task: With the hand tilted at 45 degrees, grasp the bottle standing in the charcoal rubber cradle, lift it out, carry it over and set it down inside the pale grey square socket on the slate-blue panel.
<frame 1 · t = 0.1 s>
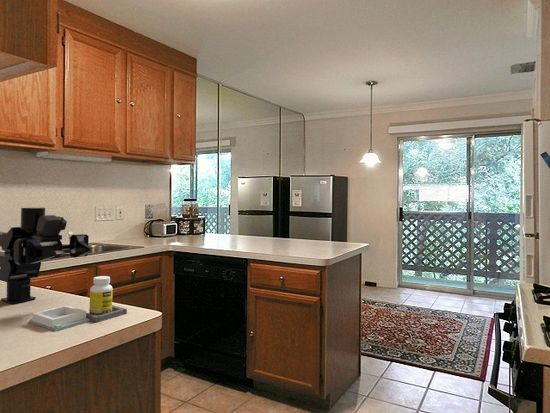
hand: (73, 251, 100), 17 cm above the counter, tool horizontal, fingers open, 9 cm apart
supplement bottle: (100, 315, 102), resting in holster cradle
holster cradle: (100, 314, 102), on the counter
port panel: (59, 321, 96), on the counter
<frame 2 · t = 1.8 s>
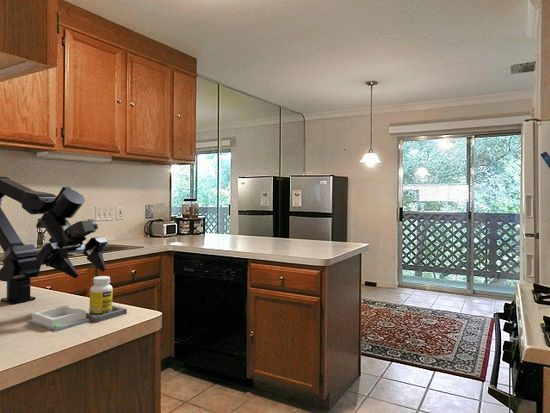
hand: (91, 273, 103), 10 cm above the counter, tool tilted 45°, fingers open, 9 cm apart
nothing on the counter moved.
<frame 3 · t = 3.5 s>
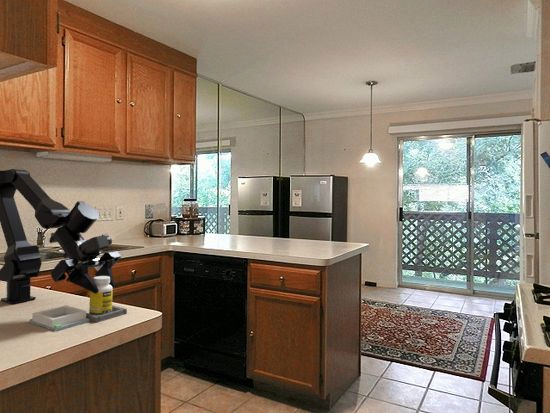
hand: (105, 290, 101), 7 cm above the counter, tool tilted 45°, fingers closed on supplement bottle, 5 cm apart
supplement bottle: (100, 315, 102), resting in holster cradle, touching gripper
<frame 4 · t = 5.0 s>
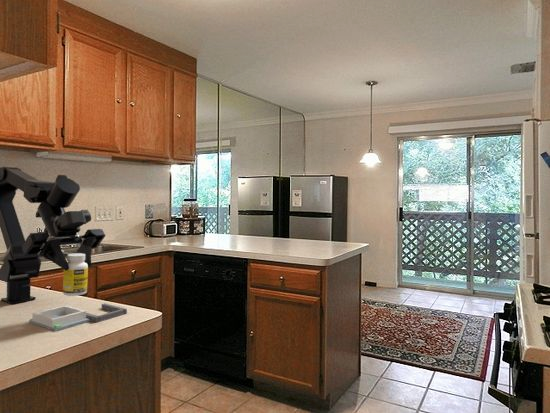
hand: (79, 267, 97), 13 cm above the counter, tool tilted 45°, fingers closed on supplement bottle, 5 cm apart
supplement bottle: (75, 294, 98), point 6 cm above the counter, touching gripper
when the fingers open (8 cm above the counter, at t = 6.7 s): supplement bottle stays where it is, resting on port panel.
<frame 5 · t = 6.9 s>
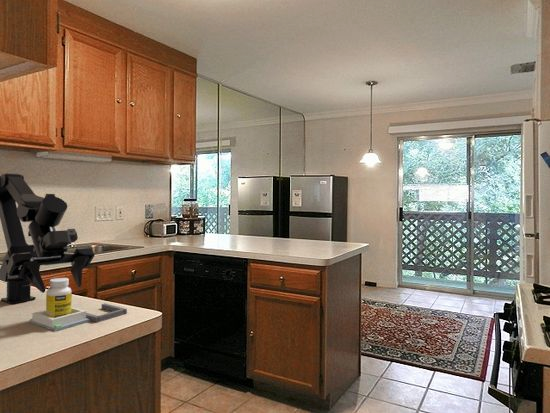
hand: (62, 288, 94), 8 cm above the counter, tool tilted 45°, fingers open, 8 cm apart
supplement bottle: (58, 319, 96), resting on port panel
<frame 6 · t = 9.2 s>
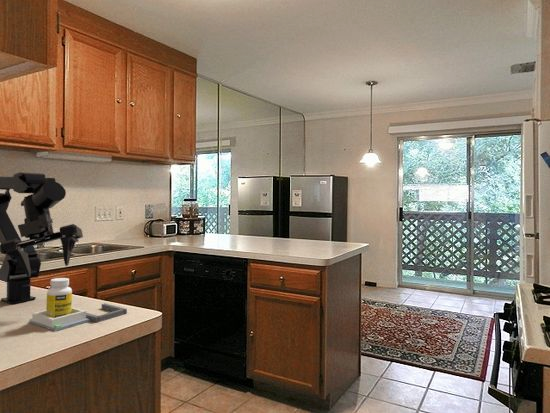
hand: (48, 270, 103), 11 cm above the counter, tool tilted 25°, fingers open, 9 cm apart
nothing on the counter moved.
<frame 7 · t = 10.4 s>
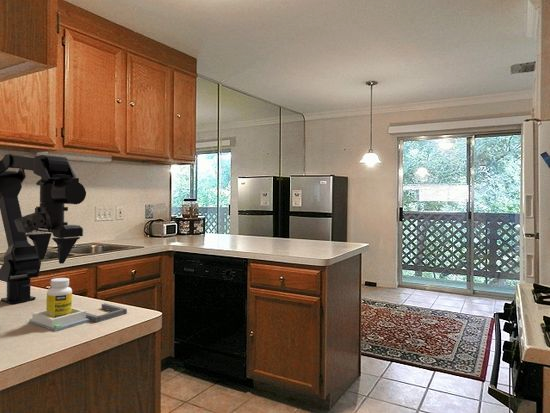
hand: (51, 261, 104), 13 cm above the counter, tool pointing down, fingers open, 9 cm apart
nothing on the counter moved.
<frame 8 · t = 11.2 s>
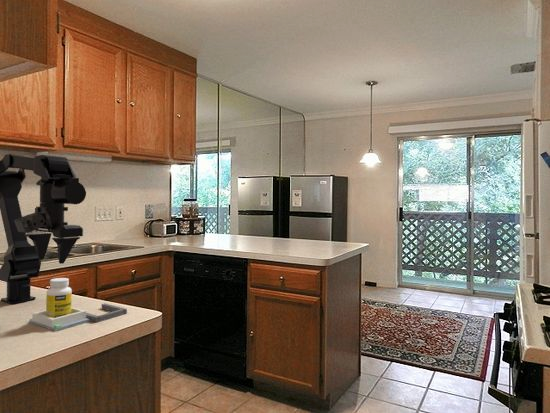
hand: (51, 261, 104), 13 cm above the counter, tool pointing down, fingers open, 9 cm apart
nothing on the counter moved.
at the end: supplement bottle 0.2 cm off-centre on the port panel, point 0.4 cm above the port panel's base; supplement bottle tilted 0°; the gripper is holding nothing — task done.
